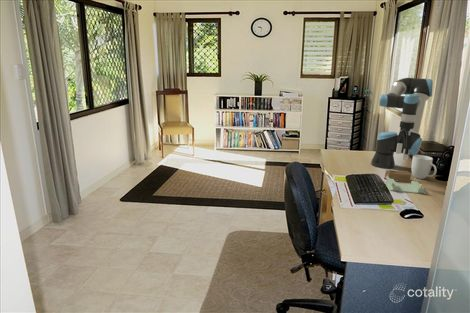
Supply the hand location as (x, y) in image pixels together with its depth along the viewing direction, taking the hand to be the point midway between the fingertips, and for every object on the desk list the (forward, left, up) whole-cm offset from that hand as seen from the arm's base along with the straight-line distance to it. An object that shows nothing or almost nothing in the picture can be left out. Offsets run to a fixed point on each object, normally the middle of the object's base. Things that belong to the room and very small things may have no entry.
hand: (401, 156), depth 211 cm
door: (0, 0, -15) cm, 15 cm away
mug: (-8, +16, -15) cm, 23 cm away
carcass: (+16, 0, -15) cm, 22 cm away
